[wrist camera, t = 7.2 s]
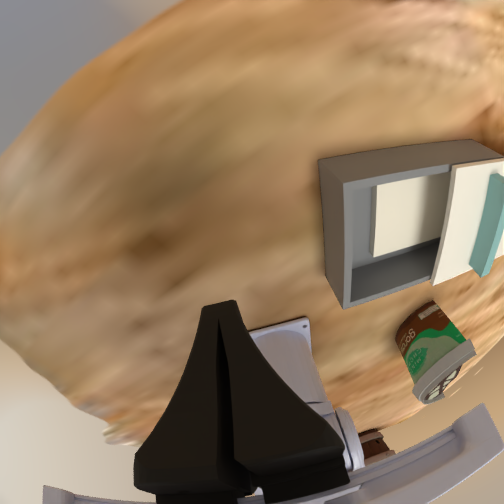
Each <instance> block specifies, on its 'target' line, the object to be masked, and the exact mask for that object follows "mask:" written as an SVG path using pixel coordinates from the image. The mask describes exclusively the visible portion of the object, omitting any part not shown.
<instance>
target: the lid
mask: <svg viewBox="0 0 504 504" xmlns="http://www.w3.org/2000/svg"><path fill="white" fill-rule="evenodd" d="M502 255H504V158H501V159H493V160H486V161H479V162H472V163H466V164H459V165H453V166H452V171H451V179H450V187H449V194H448V201H447V207H446V213H445V219H444V224H443V229H442V234H441V239H440V244H439V248H438V253H437V257H436V261H435V265H434V269H433V273H432V276H431V280H430V283H431V284H432V286H434V285H436V284H439V283H441V282H444V281H446V280H448V279H451V278H453V277H456V276H458V275H460V274H462V273H465V272H467V271H469V270H472V269H474V271H475V272H476V273H477V274H478V275H479V276H480V277H483V276H485V275H487V274H489V271H490V269H491V266H492V263H493V261H494V259H495V258H497V257H499V256H502Z"/></svg>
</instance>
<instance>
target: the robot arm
mask: <svg viewBox="0 0 504 504" xmlns="http://www.w3.org/2000/svg"><path fill="white" fill-rule="evenodd" d="M335 414H336V415H335ZM503 450H504V443H503V441H502V439H501V437H500V435H499V432H498V430H497V428H496V426H495V424H494V422H493V420H492V418H491V417H490V414H489V412H488V410H487V409H486V406H485V405H484V403H481V404H479V405H478V406H476V407H475V408H473V409H472V410H471V411H469V412H467V413H466V414H464V415H463V416H461V417H460V418H458V419H457V420H456V421H455V422H454V423H453V424H452V425H451V426H449V427H448V428H446V429H444V430H442V431H441V432H439V433H437V434H435V435H433V436H432V437H430V438H428V439H426V440H424V441H422V442H420V443H418V444H416V445H414V446H412V447H410V448H408V449H406V450H404V451H402V452H399V453H397V454H395V455H393V456H390V457H388V458H386V459H383V460H381V461H378V462H376V463H373V464H371V465H368V466H366V467H365V464H364V455H363V450H362V446H361V443H360V439H359V436H358V433H357V431H356V428H355V425H354V423H353V420H352V418H351V416H350V414H349V412H348V411H347V410H344V409H342V408H341V407H338V408H336V409H335V413H334V410H333V407H332V404H331V401H328V399H327V396H326V393H325V390H324V387H323V384H322V381H321V379H320V376H319V373H318V370H317V367H316V364H315V362H314V359H313V356H312V352H311V337H310V323H309V319H308V318H301V319H297V320H293V321H290V322H286V323H282V324H278V325H275V326H271V327H267V328H263V329H259V330H255V331H251V332H248V331H247V329H246V327H245V325H244V323H243V320H242V317H241V314H240V311H239V308H238V305H237V302H236V301H235V300H229V301H224V302H220V303H216V304H212V305H207V306H204V307H203V308H202V310H201V316H200V321H199V325H198V329H197V333H196V337H195V340H194V343H193V347H192V350H191V353H190V356H189V359H188V362H187V364H186V367H185V370H184V372H183V375H182V377H181V380H180V382H179V384H178V386H177V389H176V391H175V393H174V395H173V397H172V399H171V401H170V403H169V404H168V406H167V408H166V410H165V412H164V413H163V415H162V417H161V418H160V420H159V421H158V423H157V424H156V426H155V428H154V429H153V431H152V432H151V434H150V435H149V436H148V438H147V439H146V440H145V442H144V443H143V444H142V446H141V447H140V448H139V450H138V451H137V452H136V453H135V459H134V486H135V487H136V488H137V489H139V490H142V491H145V492H149V493H152V494H155V495H156V503H154V502H133V501H121V500H111V499H103V498H96V497H89V496H83V495H77V494H73V493H72V492H68V491H66V490H63V489H59V488H54V487H50V486H46V485H44V486H43V504H428V503H430V502H431V501H433V500H435V499H437V498H438V497H440V496H441V495H443V494H445V493H446V492H448V491H449V490H451V489H452V488H454V487H455V486H457V485H458V484H460V483H461V482H462V481H464V480H465V479H466V478H468V477H470V476H471V475H472V474H474V473H475V472H476V471H477V470H479V469H480V468H482V467H483V466H484V465H486V464H487V463H488V462H490V461H491V460H492V459H493V458H495V457H496V456H497V455H499V454H500V453H501V452H502V451H503ZM253 493H255V496H251V497H245V496H249V495H252V494H253Z"/></svg>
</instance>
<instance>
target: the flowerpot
mask: <svg viewBox="0 0 504 504" xmlns="http://www.w3.org/2000/svg"><path fill="white" fill-rule="evenodd" d="M358 436H359V439H360V443H361V446H362V450H363V455H364V464H365V467H366V466H368V465H371V464H373V463H376V462H378V461H381V460H383V459H386V458H388V457H390V456H393V455H395V452H394V450H389V448H388V447H387V445H386V443H385V442H384V441H383V435H382V434H381V433H380V432H377V430H369V431H366V432H364V433H360V434H358Z"/></svg>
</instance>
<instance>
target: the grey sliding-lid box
mask: <svg viewBox="0 0 504 504" xmlns="http://www.w3.org/2000/svg"><path fill="white" fill-rule="evenodd" d="M501 158H504V156H502V155H500V154H499V153H497V152H495V151H493V150H491V149H490V148H488V147H486V146H484V145H482V144H480V143H478V142H476V141H474V140H472V139H468V140H456V141H445V142H435V143H426V144H417V145H409V146H401V147H394V148H386V149H380V150H373V151H366V152H360V153H354V154H348V155H342V156H337V157H331V158H326V159H320V160H318V166H319V177H320V188H321V200H322V214H323V229H324V247H325V270H326V278H327V280H328V282H329V284H330V286H331V288H332V289H333V291H334V293H335V295H336V297H337V299H338V301H339V303H340V305H341V307H342V309H343V310H344V309H347V308H350V307H353V306H356V305H359V304H362V303H366V302H369V301H372V300H375V299H377V298H380V297H383V296H386V295H389V294H392V293H395V292H398V291H400V290H403V289H406V288H409V287H411V286H414V285H417V284H419V283H422V282H425V281H427V280H430V279H431V276H432V273H433V269H434V265H435V261H436V257H437V253H438V248H439V244H440V239H441V234H442V229H443V224H444V219H445V213H446V207H447V201H448V194H449V187H450V179H451V171H452V166H453V165H459V164H466V163H472V162H479V161H486V160H493V159H501Z"/></svg>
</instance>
